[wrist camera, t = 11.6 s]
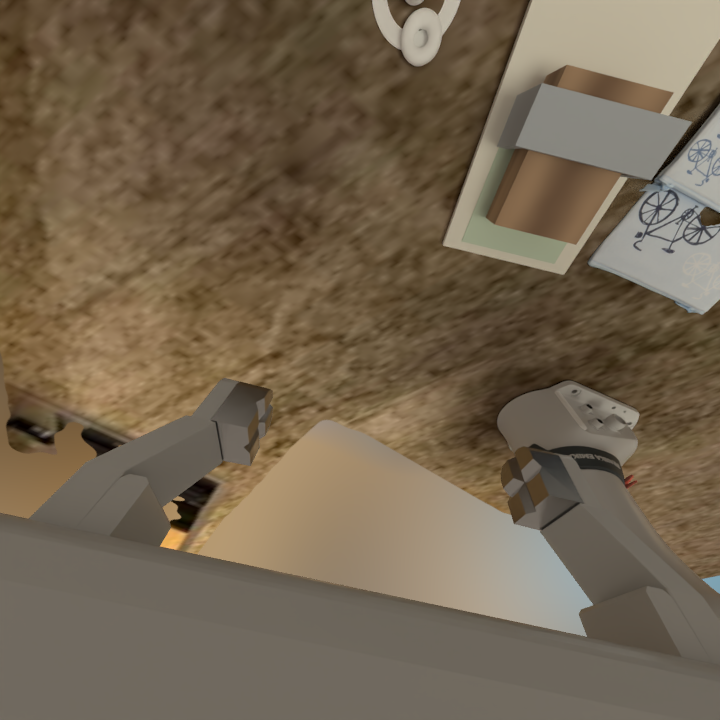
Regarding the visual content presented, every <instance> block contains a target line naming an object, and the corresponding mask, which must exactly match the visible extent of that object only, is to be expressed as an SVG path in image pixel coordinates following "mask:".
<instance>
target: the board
mask: <svg viewBox="0 0 720 720" xmlns="http://www.w3.org/2000/svg"><path fill="white" fill-rule="evenodd" d="M719 39H720V0H530V2H529V4H528V7H527V10H526V13H525V15H524V18H523V21H522V24H521V26H520V29H519V32H518V35H517V38H516V40H515V43H514V46H513V49H512V51H511V54H510V57H509V60H508V62H507V65H506V68H505V71H504V74H503V76H502V79H501V82H500V85H499V87H498V90H497V93H496V96H495V98H494V101H493V104H492V107H491V110H490V112H489V115H488V118H487V121H486V123H485V126H484V129H483V132H482V134H481V137H480V140H479V143H478V146H477V148H476V151H475V154H474V157H473V159H472V162H471V165H470V168H469V170H468V173H467V176H466V179H465V182H464V184H463V187H462V190H461V193H460V195H459V198H458V201H457V204H456V206H455V209H454V212H453V215H452V218H451V220H450V223H449V226H448V229H447V231H446V234H445V237H444V240H443V242H442V244H443V246H447V247H451V248H455V249H459V250H464V251H468V252H472V253H476V254H480V255H484V256H488V257H492V258H496V259H500V260H505V261H509V262H513V263H517V264H521V265H525V266H529V267H533V268H537V269H541V270H546V271H550V272H554V273H558V274H562V275H564V274H565V273H566V271H567V269H568V268H569V266H570V265H571V263H572V262H573V260H574V259H575V257H576V256H577V254H578V253H579V251H580V250H581V248H582V247H583V245H584V244H585V242H586V241H587V239H588V238H589V236H590V235H591V233H592V232H593V230H594V229H595V227H596V225H597V224H598V222H599V221H600V219H601V218H602V216H603V215H604V213H605V212H606V210H607V209H608V207H609V206H610V204H611V203H612V201H613V200H614V198H615V197H616V195H617V194H618V192H619V191H620V189H621V188H622V186H623V184H624V183H625V181H626V180H627V177H619V179H618V180H617V182H616V184H615V185H614V187H613V188H612V190H611V191H610V193H609V194H608V196H607V198H606V199H605V201H604V202H603V204H602V205H601V207H600V208H599V210H598V212H597V213H596V215H595V216H594V218H593V219H592V221H591V222H590V224H589V226H588V227H587V229H586V230H585V232H584V233H583V235H582V236H581V238H580V240H579V241H578V243H577V244H576V245H575V244H571V243H567V242H563V241H559V240H555V239H551V238H547V237H543V236H539V235H534V234H530V233H526V232H522V231H518V230H514V229H510V228H506V227H502V226H498V225H494V224H493V223H492V222H491V221H489V220H488V219H487V218H486V215H487V213H488V211H489V208H490V206H491V204H492V201H493V199H494V197H495V194H496V192H497V190H498V187H499V185H500V183H501V180H502V178H503V176H504V173H505V171H506V169H507V166H508V164H509V162H510V159H511V157H512V155H513V152H514V150H515V149H504V148H500V147H497V145H498V142H499V140H500V137H501V135H502V132H503V130H504V127H505V125H506V122H507V119H508V117H509V114H510V112H511V109H512V107H513V104H514V102H515V99H516V97H517V95H519V94H521V93H523V92H525V91H527V90H529V89H531V88H533V87H535V86H537V85H539V84H541V83H543V82H544V80H545V78H546V76H547V75H549V74H550V73H552V72H554V71H556V70H558V69H560V68H562V67H564V66H565V65H570V66H574V67H578V68H582V69H586V70H589V71H593V72H597V73H601V74H605V75H608V76H612V77H616V78H620V79H624V80H628V81H631V82H635V83H639V84H643V85H647V86H650V87H654V88H658V89H662V90H666V91H670V92H673V95H672V96H671V98H670V100H669V101H668V103H667V104H666V106H665V107H664V109H663V110H662V112H661V114H663V115H667V116H669V115H670V113H671V112H672V110H673V109H674V107H675V106H676V104H677V102H678V101H679V99H680V98H681V96H682V95H683V93H684V92H685V90H686V89H687V87H688V86H689V84H690V83H691V81H692V80H693V78H694V77H695V75H696V74H697V72H698V71H699V69H700V68H701V66H702V65H703V63H704V62H705V60H706V58H707V57H708V55H709V54H710V52H711V51H712V49H713V48H714V46H715V45H716V43H717V42H718V40H719Z"/></svg>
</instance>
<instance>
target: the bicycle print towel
mask: <svg viewBox="0 0 720 720" xmlns="http://www.w3.org/2000/svg"><path fill="white" fill-rule="evenodd" d="M639 191H646V192H645V193H644V194H643V195H642V197H641V198H640V199H639V200H638V201H637V202H636V204H635V205H634V206H633V207H632V208H631V209H630V211H629V212H628V213H627V214H626V216H625V217H624V218H623V219H622V220H621V221H620V223H619V224H618V225H617V226H616V227H615V228H614V230H613V231H612V232H611V233H610V234H609V235H608V236H607V238H606V239H605V240H604V241H603V242H602V244H601V245H600V246H599V247H598V248H597V249H596V251H595V252H594V254H593V255H592V256H591V258H590V259H589V261H588V264H589V265H590V266H592V267H596V268H599V269H602V270H605V271H608V272H610V273H613V274H616V275H618V276H620V277H622V278H625V279H627V280H629V281H632V282H634V283H636V284H638V285H641V286H643V287H645V288H647V289H649V290H651V291H654V292H656V293H659V294H661V295H663V296H665V297H668V298H670V299H672V300H675V303H676V304H677V305H679V306H681V307H683V308H685V309H686V310H687V311H688V312H687V313H691V312H694V313H699V314H704V313H705V312H707V311H708V310H709V309H710V308H711V307H712V306H713V305H714V304H715V303H716V302H717V301H718V300H719V299H720V224H719V225H715V226H712V225H711V226H704V225H701V224H702V223H701V220H700V219H699V218H700V217H701V216H700V212H701V211H702V210H703V209H704V208H705V207H710V208H712V209H714V210H715V211H717V212H719V213H720V104H719V105H718V106H717V107H716V109H715V110H714V111H713V113H712V114H711V115H710V116H709V117H708V119H707V120H706V121H705V122H704V124H703V125H702V126H701V127H700V129H699V130H698V131H697V132H696V134H695V135H694V136H693V137H692V138H691V140H690V141H689V142H688V143H687V144H686V145H685V147H684V148H683V149H682V150H681V151H680V152H679V154H678V155H677V156H676V157H675V158H674V160H673V161H672V162H671V163H670V164H669V165H668V166H667V167H666V168H665V169H664V170H662V171H661V172H660V173H659V175H658V176H657V177H656V178H655V179H654V183H653V184H648V185H647V186H645V187H644V188H643V189H640V190H639ZM677 302H678V303H677Z"/></svg>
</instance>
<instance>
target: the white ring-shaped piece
mask: <svg viewBox="0 0 720 720" xmlns="http://www.w3.org/2000/svg"><path fill="white" fill-rule="evenodd" d="M405 1H406V2H407V3H408V4H410V5H413V6H415V5H418V4H420V3H422V2H423V1H424V0H405ZM460 1H461V0H445V1H444V4H443V6H442V9H441V11H440V12H439V14H438V15H437V14H436V13H435V12H434V11H433V10H431V9H429V8H421V9H418V10H416V11H414V12H413V13H412V14H411V15H410V16H409V17H408V19H407V20H406V22H405V24H404V27H403V29H402V28H400V27H399V26H398V25H397V24H396V22H395V21H394V19H393V18H392V16H391V14H390V11H389V8H388V3H387V0H372V5H373V11H374V15H375V18H376V21H377V24H378V26H379V29H380V31H381V32H382V34H383V36H384V37H385V38H386V40H387V41H388V42H389V43H390V44H391V45H393V46H394V47H396V48H397V49H399V50H402V53H403V55H404V57H405V59H406V60H407V61H408V62H409V63H410V64H412V65H414V66H423V65H425V64H427V63H428V62H430V61H431V60H432V59H433V58H434V57H435V55H436V54H437V52H438V49H439V47H440V44H441V39H442V35H443V34H444V33H445V31H446V30H447V28H448V27H449V25H450V24H451V22H452V20H453V18H454V16H455V14H456V12H457V9H458V7H459V4H460ZM420 29H422V30H420ZM419 30H420V31H419Z"/></svg>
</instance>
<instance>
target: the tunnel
mask: <svg viewBox="0 0 720 720" xmlns="http://www.w3.org/2000/svg"><path fill="white" fill-rule="evenodd" d="M691 123H692V122H690V121H686V120H682V119H679V118H675V117H671V116H667V115H663V114H659V113H656V112H652V111H648V110H644V109H640V108H636V107H632V106H629V105H625V104H621V103H617V102H613V101H609V100H605V99H602V98H598V97H594V96H590V95H586V94H582V93H579V92H575V91H571V90H567V89H563V88H559V87H555V86H552V85H548V84H544V83H541V84H539V85H537V86H535V87H533V88H531V89H529V90H527V91H525V92H523V93H521V94H519V95H517V97H516V99H515V102H514V104H513V107H512V109H511V112H510V114H509V117H508V119H507V122H506V125H505V127H504V130H503V132H502V135H501V137H500V140H499V142H498V145H497V147H500V148H504V149H527V150H531V151H535V152H539V153H543V154H546V155H550V156H554V157H558V158H562V159H566V160H570V161H574V162H578V163H582V164H586V165H590V166H594V167H598V168H602V169H606V170H610V171H613V172H617V173H621V176H620V177H627V178H636V179H645V180H652V178H653V177H654V176H655V174H656V173H657V171H658V170H659V168H660V167H661V166H662V164H663V163H664V161H665V160H666V159H667V157H668V156H669V154H670V153H671V151H672V150H673V149H674V147H675V146H676V144H677V143H678V142H679V140H680V139H681V137H682V136H683V134H684V133H685V132H686V130H687V129H688V127H689V126H690V124H691Z"/></svg>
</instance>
